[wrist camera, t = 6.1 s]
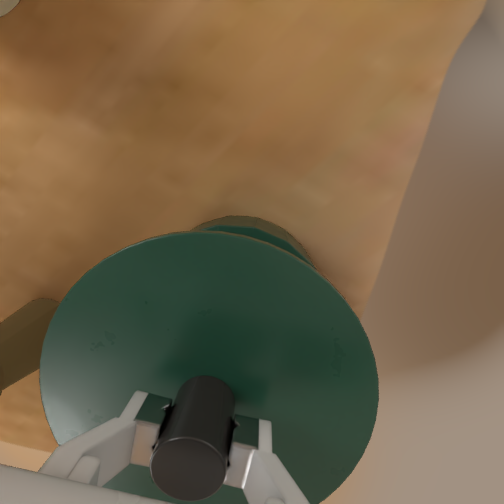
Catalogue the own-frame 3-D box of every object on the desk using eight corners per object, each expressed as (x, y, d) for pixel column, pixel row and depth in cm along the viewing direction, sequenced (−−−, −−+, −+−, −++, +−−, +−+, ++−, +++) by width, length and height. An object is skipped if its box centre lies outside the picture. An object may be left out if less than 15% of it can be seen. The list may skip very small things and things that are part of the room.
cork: (50, 367, 32) (-60, 459, 21) (5, 323, 31) (-133, 396, 20) (91, 332, 31) (-4, 410, 20) (45, 286, 30) (-77, 341, 19)
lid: (42, 474, 17) (-41, 584, 12) (73, 191, 13) (-26, 196, 9) (319, 537, 17) (340, 669, 12) (416, 273, 14) (492, 319, 9)
